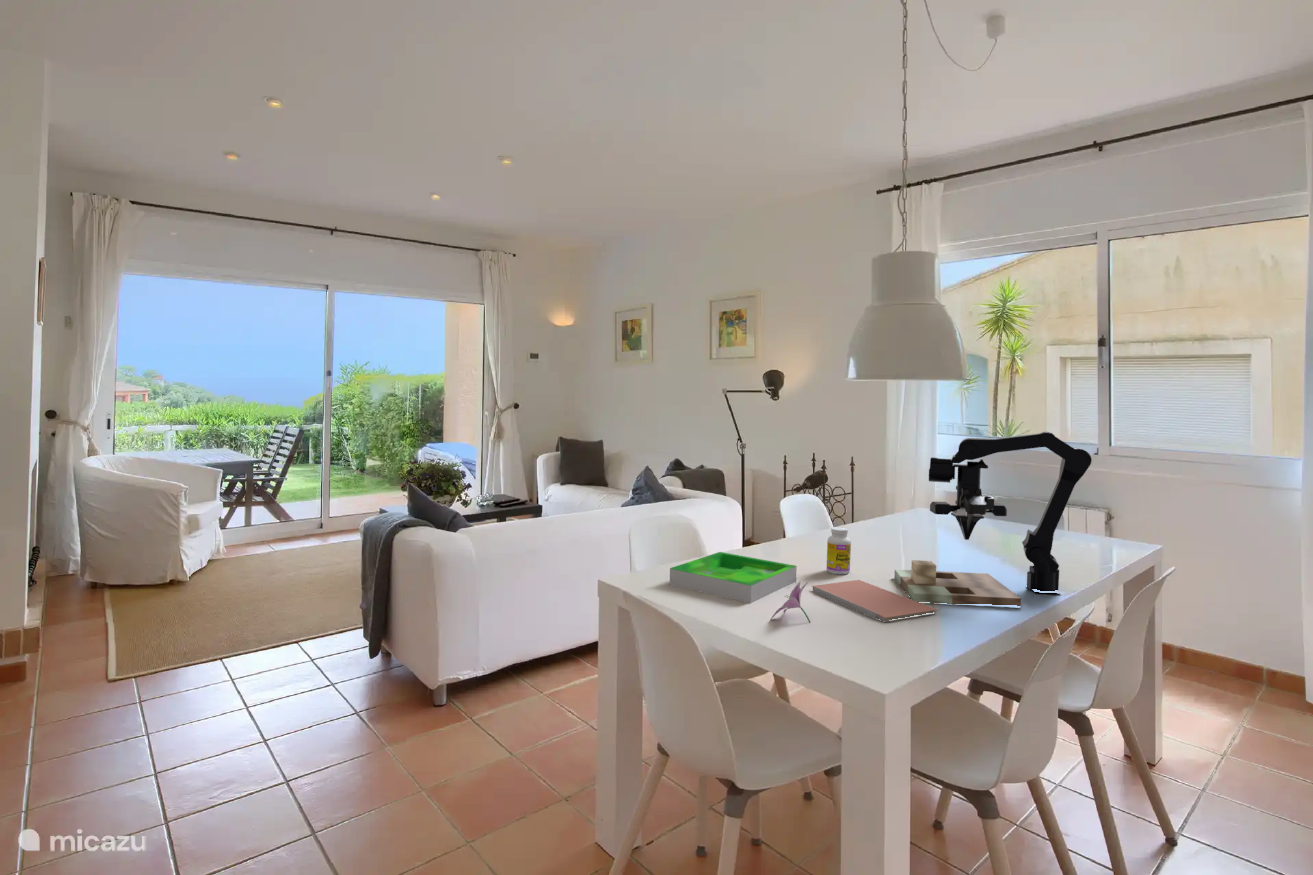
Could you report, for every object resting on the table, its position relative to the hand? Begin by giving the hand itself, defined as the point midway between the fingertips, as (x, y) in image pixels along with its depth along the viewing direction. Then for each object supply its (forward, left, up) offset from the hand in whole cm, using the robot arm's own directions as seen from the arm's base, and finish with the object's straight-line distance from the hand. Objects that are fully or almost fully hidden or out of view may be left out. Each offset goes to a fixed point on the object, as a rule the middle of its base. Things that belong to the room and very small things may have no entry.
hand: (966, 539), depth 186 cm
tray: (+64, +13, -13) cm, 66 cm away
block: (+14, +11, -9) cm, 20 cm away
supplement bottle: (+34, -4, -12) cm, 36 cm away
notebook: (+30, +24, -13) cm, 40 cm away
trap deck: (+6, +11, -12) cm, 17 cm away
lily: (+50, +40, -12) cm, 65 cm away
